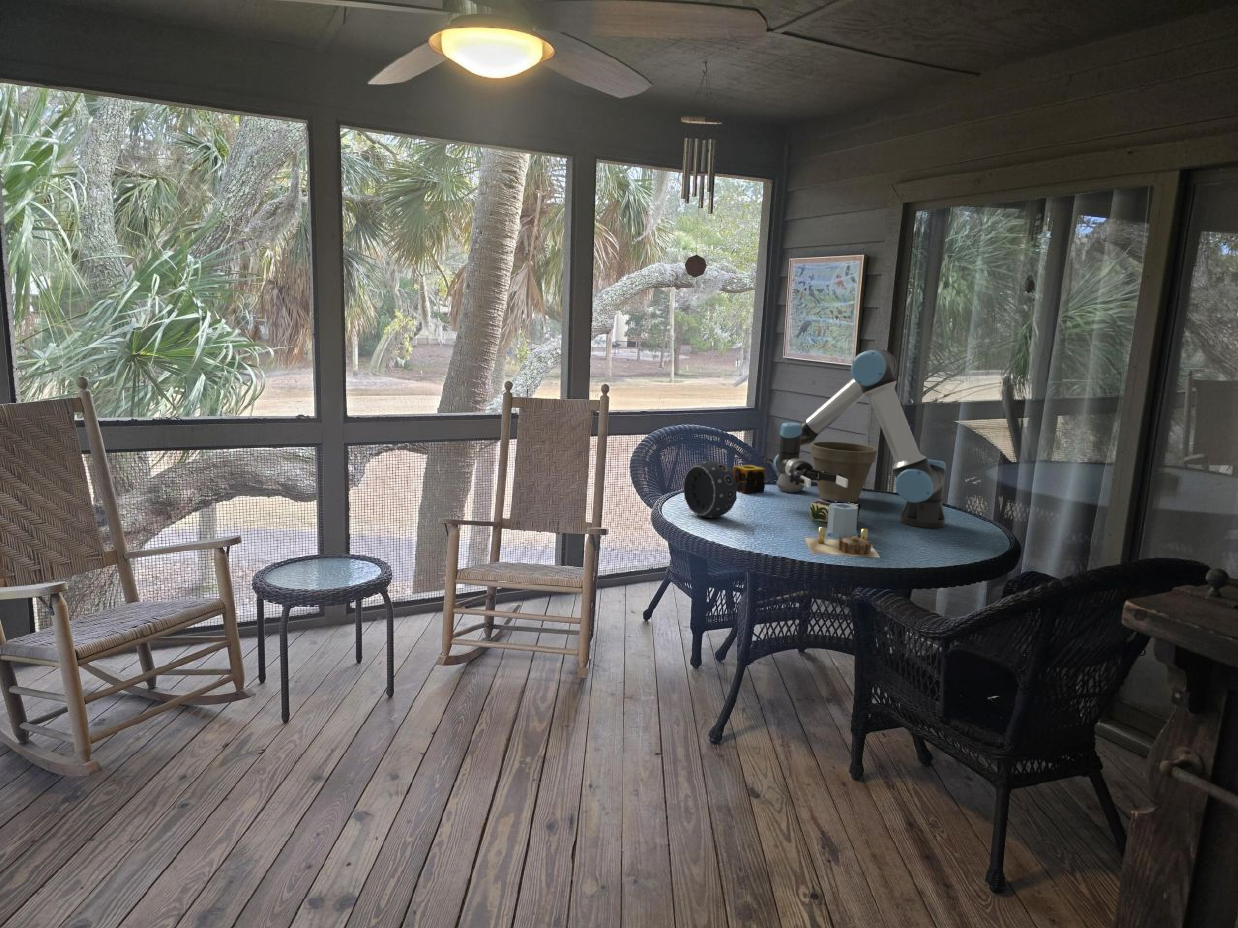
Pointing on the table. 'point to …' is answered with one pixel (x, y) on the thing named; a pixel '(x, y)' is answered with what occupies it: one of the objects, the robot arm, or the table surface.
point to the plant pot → (842, 468)
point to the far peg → (864, 533)
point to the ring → (710, 489)
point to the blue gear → (842, 520)
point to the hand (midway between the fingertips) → (828, 483)
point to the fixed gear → (854, 545)
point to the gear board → (832, 548)
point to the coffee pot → (787, 483)
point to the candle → (749, 479)
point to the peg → (821, 535)
